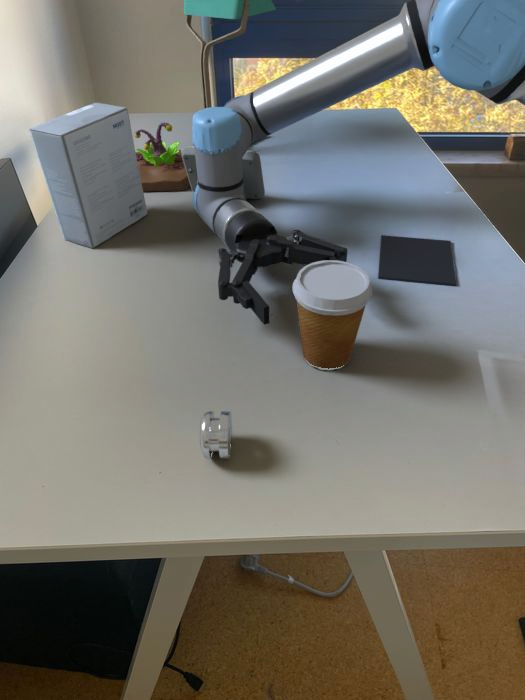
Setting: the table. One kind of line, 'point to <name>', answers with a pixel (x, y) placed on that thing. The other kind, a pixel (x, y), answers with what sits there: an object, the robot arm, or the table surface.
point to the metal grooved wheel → (216, 434)
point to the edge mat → (416, 260)
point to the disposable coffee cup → (330, 310)
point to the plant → (161, 164)
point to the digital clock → (251, 172)
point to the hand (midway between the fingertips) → (313, 301)
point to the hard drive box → (91, 172)
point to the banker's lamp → (228, 4)
